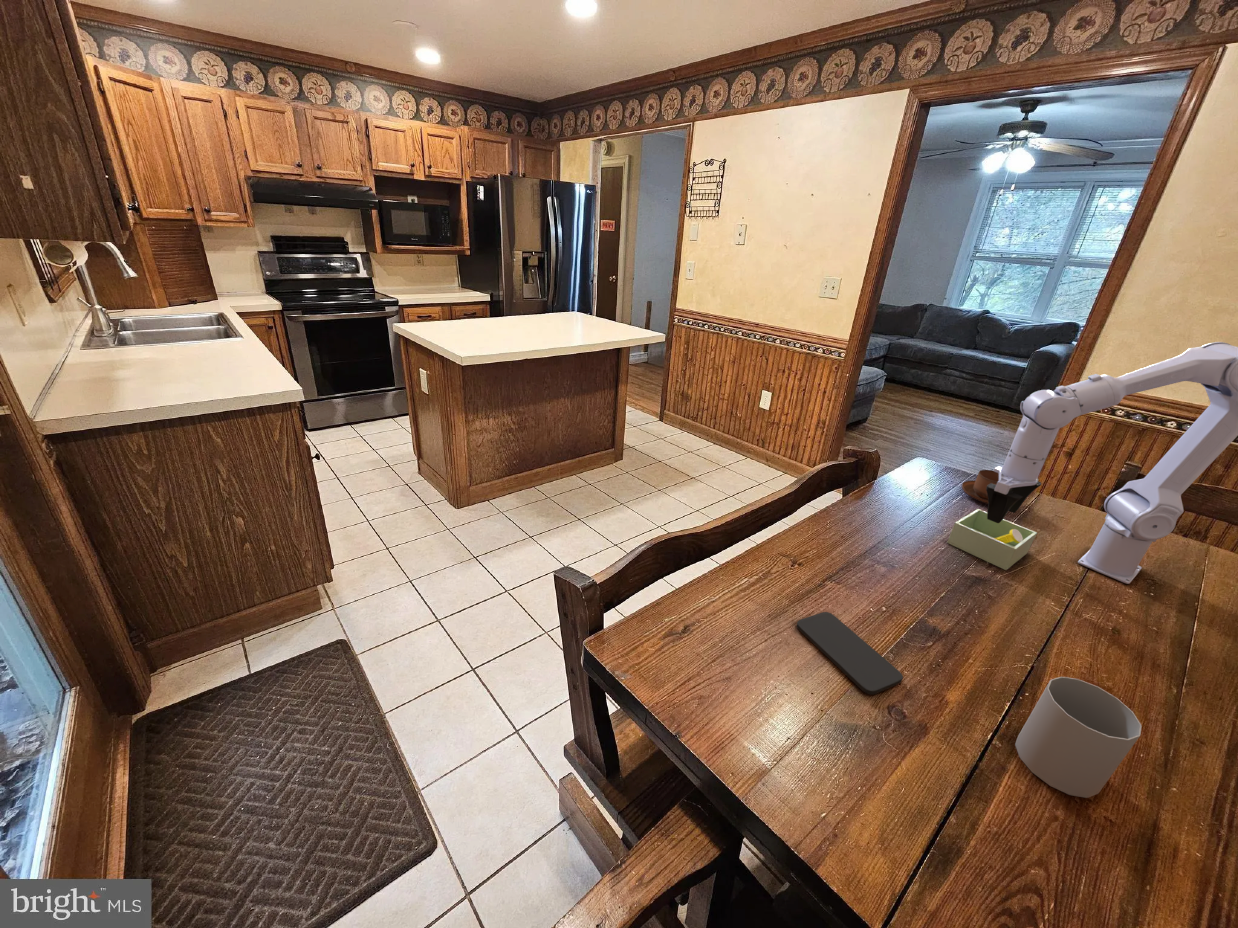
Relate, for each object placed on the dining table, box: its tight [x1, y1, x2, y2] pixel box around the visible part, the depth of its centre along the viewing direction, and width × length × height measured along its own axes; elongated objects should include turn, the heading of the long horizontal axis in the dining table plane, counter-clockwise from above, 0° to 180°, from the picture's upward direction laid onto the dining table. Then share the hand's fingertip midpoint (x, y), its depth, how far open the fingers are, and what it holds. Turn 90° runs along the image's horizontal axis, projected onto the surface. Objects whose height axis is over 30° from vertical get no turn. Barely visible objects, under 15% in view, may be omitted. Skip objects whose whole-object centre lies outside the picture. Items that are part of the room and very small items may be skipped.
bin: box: [946, 508, 1038, 571], centre depth 105 cm, size 11×11×5 cm
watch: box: [994, 529, 1023, 544], centre depth 103 cm, size 6×3×6 cm
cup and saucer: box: [961, 469, 999, 505], centre depth 125 cm, size 12×12×6 cm
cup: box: [1014, 676, 1142, 799], centre depth 61 cm, size 8×8×10 cm
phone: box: [796, 611, 904, 696], centre depth 78 cm, size 7×1×15 cm
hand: (1001, 515), depth 103 cm, fingers open, 7 cm apart
